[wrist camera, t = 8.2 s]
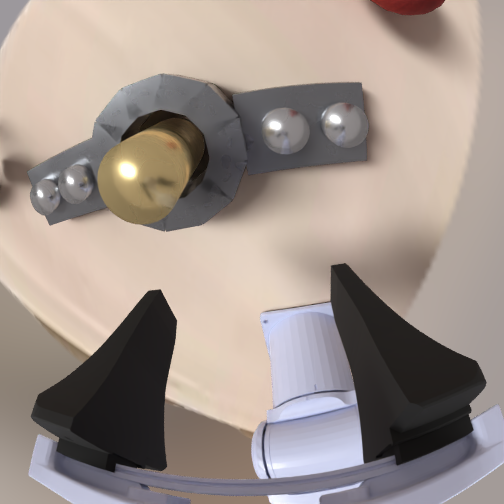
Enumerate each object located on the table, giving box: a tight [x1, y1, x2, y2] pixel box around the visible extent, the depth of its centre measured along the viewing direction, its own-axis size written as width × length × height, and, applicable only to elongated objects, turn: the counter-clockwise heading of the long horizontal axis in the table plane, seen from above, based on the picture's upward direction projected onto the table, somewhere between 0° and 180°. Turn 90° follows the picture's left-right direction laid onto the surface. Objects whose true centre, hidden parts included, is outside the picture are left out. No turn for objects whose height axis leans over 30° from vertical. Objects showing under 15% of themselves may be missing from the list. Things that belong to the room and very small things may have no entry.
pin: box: [98, 118, 204, 224], centre depth 14 cm, size 4×4×7 cm
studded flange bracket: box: [27, 74, 369, 232], centre depth 15 cm, size 9×24×3 cm, turn 100°
